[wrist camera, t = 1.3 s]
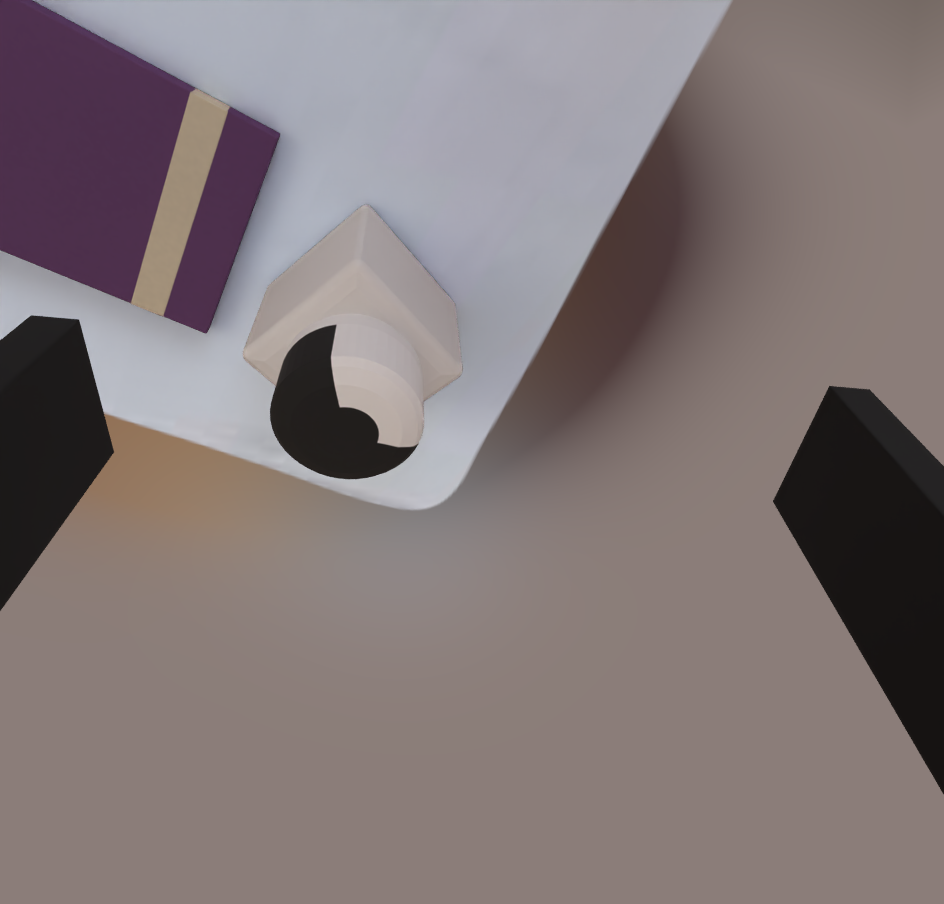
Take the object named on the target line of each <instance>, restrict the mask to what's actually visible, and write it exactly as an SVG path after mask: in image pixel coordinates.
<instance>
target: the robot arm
mask: <svg viewBox="0 0 944 904" xmlns="http://www.w3.org/2000/svg"><path fill="white" fill-rule="evenodd" d="M113 453H114V450H113V447H112V443H111V439H110V435H109V432H108V428H107V424H106V420H105V417H104V412H103V409H102V405H101V401H100V397H99V394H98V390H97V386H96V382H95V378H94V375H93V371H92V367H91V363H90V359H89V356H88V352H87V348H86V344H85V341H84V337H83V333H82V329H81V325H80V322H79V320H77V319H66V318H54V317H43V316H32V315H31V316H30V317H29V318H27V319H26V320H25V321H24V322H22V323H21V324H20V325H19V326H18V327H16V328H15V329H14V330H13V331H11V332H10V333H9V334H8V335H6V336H5V337H4V338H3V339H1V340H0V610H1V609H2V608H3V606H4V605H5V603H6V602H7V601H8V599H9V598H10V597H11V595H12V594H13V592H14V591H15V589H16V588H17V587H18V585H19V584H20V583H21V581H22V580H23V578H24V577H25V576H26V574H27V573H28V571H29V570H30V569H31V567H32V566H33V565H34V563H35V562H36V560H37V559H38V558H39V556H40V555H41V553H42V552H43V550H44V549H45V548H46V546H47V545H48V544H49V542H50V541H51V539H52V538H53V537H54V535H55V534H56V532H57V531H58V530H59V528H60V527H61V525H62V524H63V523H64V521H65V520H66V518H67V517H68V516H69V514H70V513H71V512H72V510H73V509H74V507H75V506H76V505H77V503H78V502H79V500H80V499H81V498H82V496H83V495H84V493H85V492H86V491H87V489H88V488H89V486H90V485H91V484H92V482H93V481H94V479H95V478H96V477H97V475H98V474H99V472H100V471H101V469H102V468H103V467H104V465H105V464H106V463H107V461H108V460H109V458H110V457H111V456H112V454H113ZM773 502H774V504H775V506H776V507H777V509H778V511H779V512H780V514H781V516H782V518H783V519H784V521H785V523H786V525H787V526H788V528H789V530H790V531H791V533H792V535H793V537H794V538H795V540H796V541H797V543H798V545H799V547H800V549H801V550H802V552H803V554H804V556H805V557H806V559H807V561H808V562H809V564H810V566H811V568H812V569H813V571H814V573H815V574H816V576H817V578H818V580H819V581H820V583H821V585H822V586H823V588H824V590H825V592H826V593H827V595H828V597H829V598H830V600H831V602H832V604H833V605H834V607H835V609H836V610H837V612H838V614H839V616H840V617H841V619H842V621H843V622H844V624H845V626H846V628H847V629H848V631H849V633H850V634H851V636H852V638H853V640H854V641H855V643H856V645H857V646H858V648H859V650H860V652H861V653H862V655H863V657H864V658H865V660H866V662H867V664H868V665H869V667H870V669H871V670H872V672H873V674H874V675H875V677H876V679H877V681H878V682H879V684H880V686H881V688H882V689H883V691H884V693H885V694H886V696H887V698H888V700H889V701H890V703H891V705H892V707H893V708H894V710H895V712H896V713H897V715H898V717H899V719H900V720H901V722H902V724H903V725H904V727H905V729H906V731H907V732H908V734H909V736H910V737H911V739H912V741H913V743H914V744H915V746H916V748H917V749H918V751H919V753H920V754H921V756H922V758H923V760H924V761H925V763H926V765H927V767H928V768H929V770H930V772H931V773H932V775H933V777H934V778H935V780H936V782H937V784H938V785H939V787H940V789H941V791H942V792H943V794H944V466H943V465H942V464H941V463H940V462H939V461H938V460H937V459H936V458H935V457H934V456H933V455H932V454H931V453H930V452H929V451H928V450H927V449H926V448H925V446H924V445H922V443H921V442H920V441H919V440H918V439H917V438H916V437H915V436H914V435H913V434H912V433H911V432H910V431H909V430H908V429H907V428H906V427H905V426H904V425H903V424H902V423H901V422H900V421H899V420H898V419H897V417H895V416H894V414H893V413H892V412H891V411H890V410H888V408H887V407H886V406H885V405H884V404H883V403H882V402H881V401H880V400H879V399H878V398H877V397H876V396H875V395H874V394H873V393H872V392H871V391H870V390H867V389H857V388H846V387H834V386H829V388H828V390H827V392H826V394H825V396H824V398H823V401H822V402H821V404H820V406H819V409H818V411H817V413H816V415H815V417H814V419H813V421H812V423H811V425H810V427H809V429H808V431H807V433H806V435H805V437H804V439H803V441H802V443H801V445H800V447H799V449H798V451H797V454H796V456H795V457H794V459H793V461H792V464H791V466H790V468H789V470H788V472H787V474H786V476H785V478H784V480H783V482H782V484H781V486H780V488H779V490H778V492H777V494H776V496H775V498H774V500H773Z"/></svg>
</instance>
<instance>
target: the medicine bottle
mask: <svg viewBox="0 0 944 904" xmlns="http://www.w3.org/2000/svg"><path fill="white" fill-rule="evenodd" d="M243 358H244V359H245V360H246V361H247V362H248V363H249V364H250V365H251V366H253V367H254V368H255V369H256V370H257V371H258V372H260V373H261V374H262V375H263V376H264V377H266V378H267V379H268V380H269V381H270V382H272V383H273V384H274V385H275V386H276V388H275V391H274V395H273V398H272V402H271V408H270V420H271V425H272V429H273V431H274V434H275V436H276V438H277V440H278V441H279V443H280V445H281V446H282V447H283V448H284V450H285V451H286V452H287V453H288V454H289V455H290V456H291V457H292V458H293V459H295V460H296V461H298V462H299V463H300V464H302V465H303V466H305V467H307V468H309V469H311V470H313V471H315V472H317V473H320V474H323V475H326V476H329V477H334V478H341V479H361V478H368V477H372V476H376V475H379V474H382V473H385V472H387V471H389V470H391V469H393V468H395V467H397V466H398V465H400V464H401V463H402V462H404V461H405V460H406V459H407V458H408V457H409V456H410V455H411V454H412V453H413V451H414V450H415V449H416V447H417V445H418V444H419V441H420V439H421V436H422V433H423V428H424V401H425V400H427V399H428V398H430V397H431V396H432V395H434V394H435V393H437V392H438V391H440V390H441V389H443V388H444V387H445V386H447V385H448V384H450V383H451V382H453V381H454V380H456V379H457V378H458V377H460V376H461V374H462V371H463V367H462V358H461V349H460V340H459V332H458V323H457V314H456V306H455V303H454V302H453V300H452V299H451V298H450V297H449V296H448V295H447V294H446V292H445V291H444V290H443V289H442V288H441V287H440V285H439V284H438V283H437V282H436V281H435V280H434V279H433V277H432V276H431V275H430V274H429V273H428V272H427V271H426V269H425V268H424V267H423V266H422V265H421V264H420V263H419V261H418V260H417V259H416V258H415V257H414V256H413V254H412V253H411V252H410V251H409V250H408V249H407V248H406V246H405V245H404V244H403V243H402V242H401V241H400V240H399V238H398V237H397V236H396V235H395V234H394V233H393V231H392V230H391V229H390V228H389V227H388V226H387V225H386V223H385V222H384V221H383V220H382V219H381V218H380V217H379V215H378V214H377V213H376V212H375V211H374V210H373V209H372V207H370V206H369V205H363V206H361V207H360V208H358V209H357V210H356V211H355V212H354V213H353V214H351V215H350V216H349V217H348V218H347V219H346V220H344V221H343V222H342V223H341V224H340V225H339V226H337V227H336V228H335V229H334V230H333V231H332V232H330V233H329V234H328V235H327V236H326V237H325V238H323V239H322V240H321V241H320V242H319V243H318V244H316V245H315V246H314V247H313V248H312V249H311V250H309V251H308V252H307V253H306V254H305V255H304V256H302V257H301V258H300V259H299V260H298V261H297V262H295V263H294V264H293V265H292V266H291V267H290V268H288V269H287V270H286V271H285V272H284V273H283V274H281V275H280V276H279V277H278V278H277V279H276V280H274V281H273V282H272V283H271V284H270V285H269V286H268V287H267V290H266V292H265V295H264V298H263V300H262V303H261V305H260V308H259V311H258V313H257V316H256V319H255V321H254V324H253V327H252V329H251V332H250V334H249V337H248V340H247V342H246V345H245V348H244V350H243Z"/></svg>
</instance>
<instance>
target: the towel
mask: <svg viewBox="0 0 944 904" xmlns="http://www.w3.org/2000/svg"><path fill="white" fill-rule="evenodd" d="M279 137H280V133H278V132H276V131H274V130H273V129H271V128H269V127H267V126H265V125H263V124H261V123H259V122H258V121H256V120H254V119H252V118H250V117H248V116H246V115H245V114H243V113H241V112H239V111H237V110H235V109H233V108H232V107H230V106H228V105H226V104H224V103H222V102H221V101H219V100H217V99H215V98H213V97H211V96H209V95H207V94H206V93H204V92H202V91H200V90H198V89H196V88H194V87H192V86H190V85H189V84H187V83H185V82H183V81H181V80H179V79H177V78H176V77H174V76H172V75H170V74H168V73H166V72H164V71H163V70H161V69H159V68H157V67H155V66H153V65H151V64H149V63H148V62H146V61H144V60H142V59H140V58H138V57H136V56H135V55H133V54H131V53H129V52H127V51H125V50H123V49H122V48H120V47H118V46H116V45H114V44H112V43H110V42H108V41H107V40H105V39H103V38H101V37H99V36H97V35H95V34H94V33H92V32H90V31H88V30H86V29H84V28H82V27H80V26H79V25H77V24H75V23H73V22H71V21H69V20H67V19H66V18H64V17H62V16H60V15H58V14H56V13H54V12H53V11H51V10H49V9H47V8H45V7H43V6H41V5H39V4H38V3H36V2H34V1H32V0H0V250H1V251H4V252H6V253H9V254H11V255H14V256H16V257H19V258H21V259H23V260H26V261H28V262H31V263H33V264H36V265H38V266H41V267H43V268H46V269H48V270H51V271H53V272H56V273H58V274H60V275H63V276H65V277H68V278H70V279H73V280H75V281H78V282H80V283H83V284H85V285H88V286H90V287H92V288H95V289H97V290H100V291H102V292H105V293H107V294H110V295H112V296H115V297H117V298H120V299H122V300H124V301H127V302H129V303H131V304H133V305H135V306H138V307H140V308H143V309H145V310H148V311H150V312H153V313H155V314H158V315H160V316H164V317H166V318H169V319H171V320H174V321H176V322H179V323H181V324H184V325H186V326H189V327H191V328H193V329H196V330H198V331H201V332H203V333H207V332H208V330H209V328H210V325H211V323H212V320H213V317H214V314H215V312H216V309H217V306H218V303H219V301H220V298H221V295H222V293H223V290H224V287H225V284H226V282H227V279H228V276H229V273H230V271H231V268H232V265H233V262H234V260H235V257H236V254H237V252H238V249H239V246H240V243H241V241H242V238H243V235H244V232H245V230H246V227H247V224H248V222H249V219H250V216H251V213H252V211H253V208H254V205H255V202H256V200H257V197H258V194H259V192H260V189H261V186H262V183H263V181H264V178H265V175H266V172H267V170H268V167H269V164H270V161H271V159H272V156H273V153H274V151H275V148H276V145H277V142H278V140H279Z"/></svg>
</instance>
